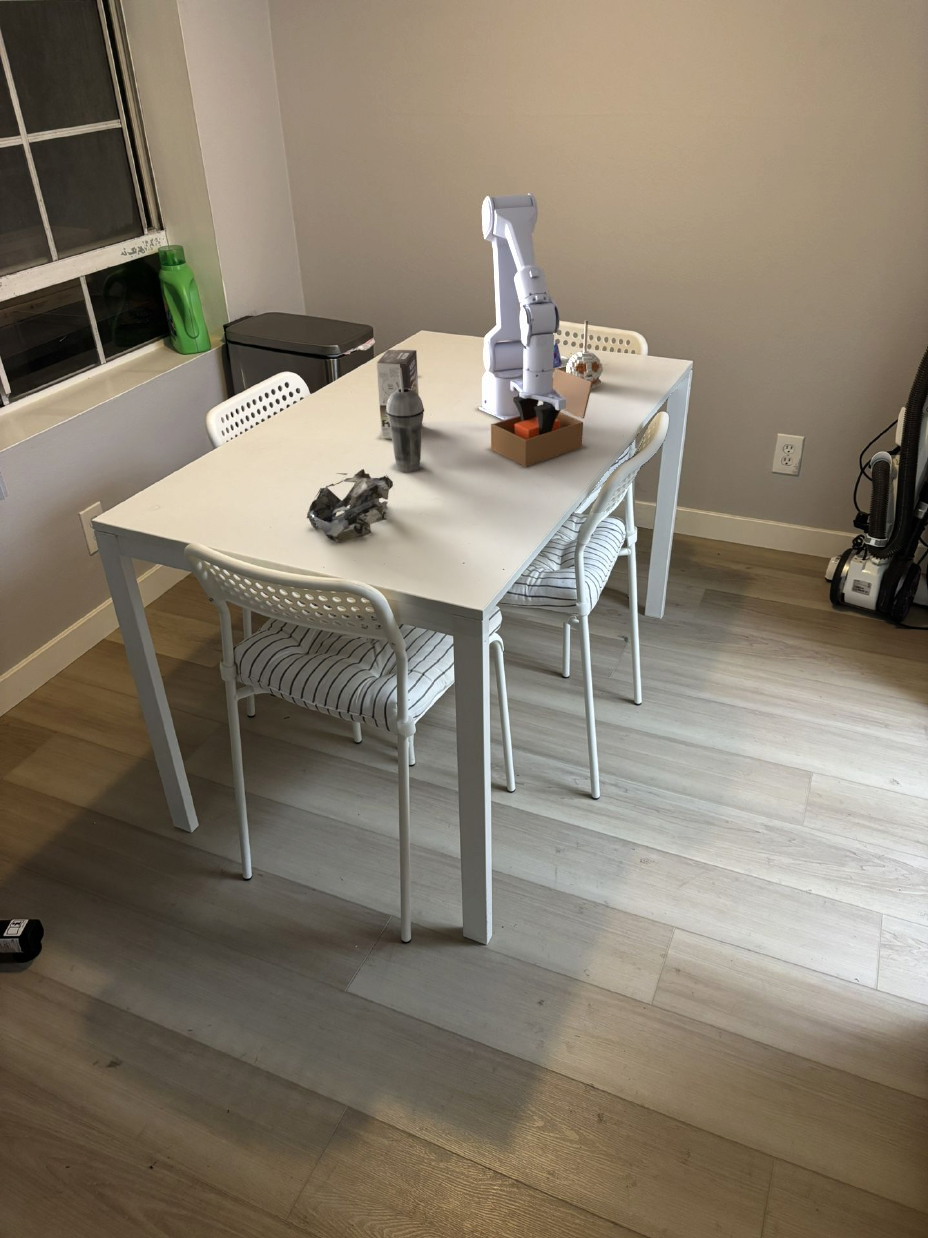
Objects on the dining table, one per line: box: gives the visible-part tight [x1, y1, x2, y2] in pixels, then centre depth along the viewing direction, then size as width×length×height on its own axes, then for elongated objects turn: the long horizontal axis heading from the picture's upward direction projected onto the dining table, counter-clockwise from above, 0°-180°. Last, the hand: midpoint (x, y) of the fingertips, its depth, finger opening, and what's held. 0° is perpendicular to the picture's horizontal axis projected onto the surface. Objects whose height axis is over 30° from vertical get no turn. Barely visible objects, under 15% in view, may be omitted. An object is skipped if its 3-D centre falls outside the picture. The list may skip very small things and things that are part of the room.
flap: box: [553, 368, 593, 420], centre depth 190 cm, size 7×11×1 cm
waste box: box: [490, 411, 584, 468], centre depth 190 cm, size 15×11×5 cm
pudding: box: [553, 341, 570, 370], centre depth 233 cm, size 12×12×5 cm
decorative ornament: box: [565, 319, 604, 390], centre depth 217 cm, size 8×8×15 cm
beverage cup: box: [386, 368, 425, 473], centre depth 180 cm, size 7×7×20 cm
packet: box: [515, 417, 560, 440], centre depth 189 cm, size 4×8×4 cm, turn 127°
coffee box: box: [376, 349, 420, 440], centre depth 196 cm, size 9×6×16 cm
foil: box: [306, 468, 394, 544], centre depth 164 cm, size 12×11×15 cm
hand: (536, 434), depth 190 cm, fingers closed on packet, 4 cm apart
